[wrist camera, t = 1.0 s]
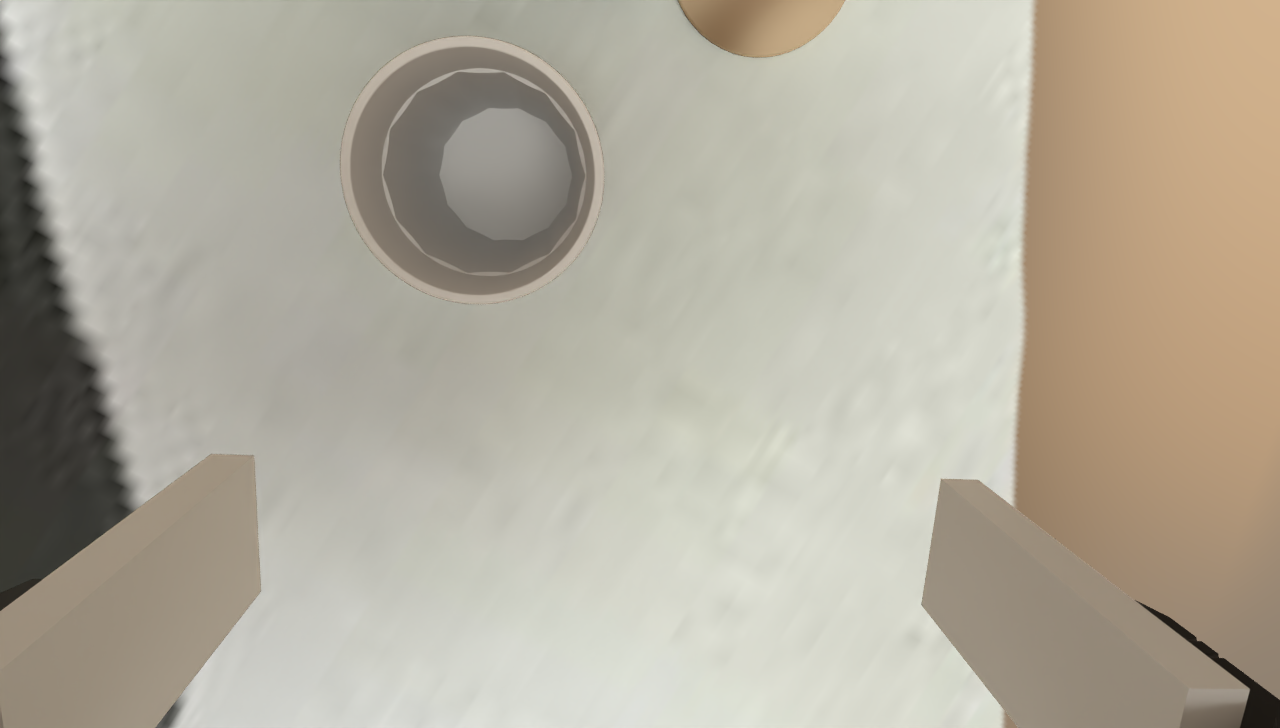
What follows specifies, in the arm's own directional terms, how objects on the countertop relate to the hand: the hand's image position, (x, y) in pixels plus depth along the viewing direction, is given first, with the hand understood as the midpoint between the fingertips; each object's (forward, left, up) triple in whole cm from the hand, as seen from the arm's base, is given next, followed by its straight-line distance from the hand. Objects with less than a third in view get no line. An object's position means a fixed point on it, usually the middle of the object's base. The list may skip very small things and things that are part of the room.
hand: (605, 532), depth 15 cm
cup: (-5, +5, -23) cm, 25 cm away
